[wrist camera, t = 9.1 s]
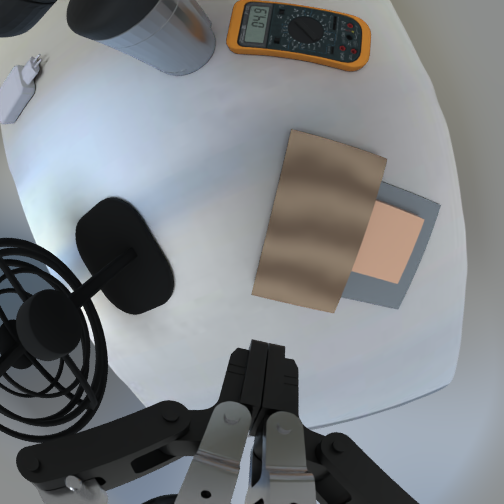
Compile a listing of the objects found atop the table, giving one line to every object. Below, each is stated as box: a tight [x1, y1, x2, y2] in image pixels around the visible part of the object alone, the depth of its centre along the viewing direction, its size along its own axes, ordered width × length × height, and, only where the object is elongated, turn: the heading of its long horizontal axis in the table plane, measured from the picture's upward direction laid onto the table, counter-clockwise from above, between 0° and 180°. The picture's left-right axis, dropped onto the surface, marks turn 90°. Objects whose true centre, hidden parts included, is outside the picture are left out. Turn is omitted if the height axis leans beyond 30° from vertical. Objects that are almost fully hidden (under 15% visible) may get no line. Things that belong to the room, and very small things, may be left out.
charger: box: [0, 54, 42, 124], centre depth 29 cm, size 5×9×15 cm
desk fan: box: [0, 198, 174, 443], centre depth 26 cm, size 27×18×35 cm, turn 28°
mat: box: [341, 182, 441, 309], centre depth 36 cm, size 18×12×1 cm, turn 168°
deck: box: [251, 129, 387, 313], centre depth 35 cm, size 22×12×4 cm, turn 168°
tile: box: [352, 199, 424, 284], centre depth 34 cm, size 10×8×2 cm
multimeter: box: [226, 0, 371, 71], centre depth 26 cm, size 9×18×3 cm, turn 82°
